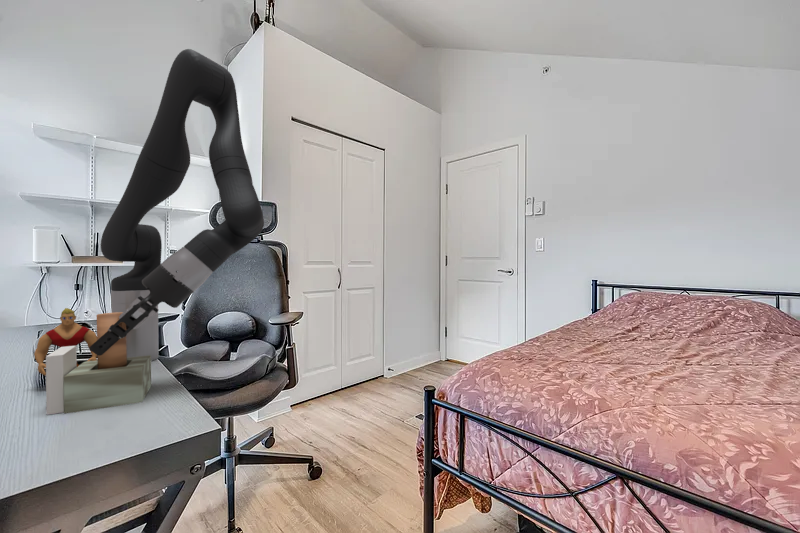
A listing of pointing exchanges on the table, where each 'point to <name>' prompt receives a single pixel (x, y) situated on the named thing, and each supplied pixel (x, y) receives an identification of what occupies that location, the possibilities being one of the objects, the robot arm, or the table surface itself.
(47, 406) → the backstop wall
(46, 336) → the action figure
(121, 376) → the socket block
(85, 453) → the table surface
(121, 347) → the dowel
